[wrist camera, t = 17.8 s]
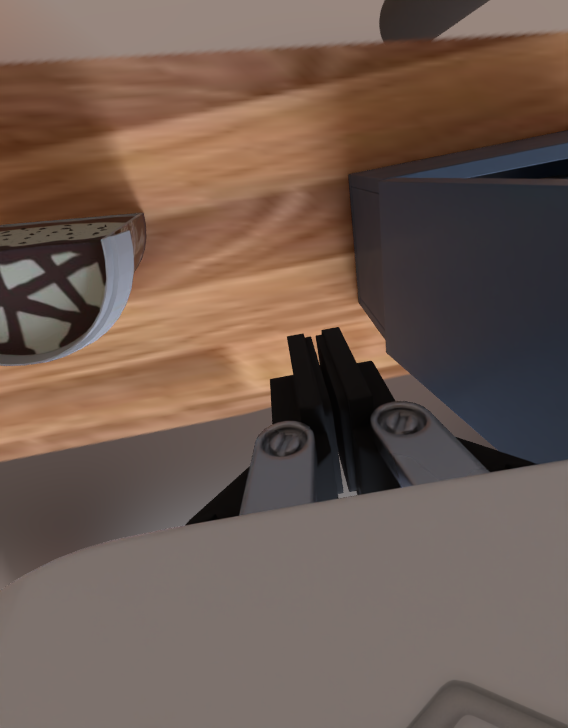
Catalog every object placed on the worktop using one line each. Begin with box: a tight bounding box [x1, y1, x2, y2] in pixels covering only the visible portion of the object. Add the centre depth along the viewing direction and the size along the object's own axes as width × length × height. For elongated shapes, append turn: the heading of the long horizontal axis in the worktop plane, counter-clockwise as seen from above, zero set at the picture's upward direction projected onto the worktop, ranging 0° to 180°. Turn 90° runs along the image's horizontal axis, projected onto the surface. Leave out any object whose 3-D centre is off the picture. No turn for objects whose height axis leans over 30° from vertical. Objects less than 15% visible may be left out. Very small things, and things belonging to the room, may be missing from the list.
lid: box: [378, 178, 568, 464], centre depth 12 cm, size 16×9×1 cm
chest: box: [348, 130, 568, 340], centre depth 23 cm, size 15×9×8 cm, turn 100°
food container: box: [0, 213, 146, 366], centre depth 21 cm, size 12×6×10 cm, turn 94°
